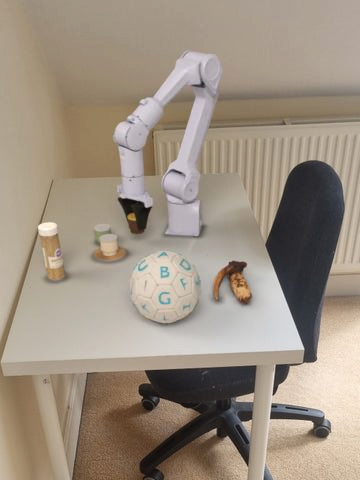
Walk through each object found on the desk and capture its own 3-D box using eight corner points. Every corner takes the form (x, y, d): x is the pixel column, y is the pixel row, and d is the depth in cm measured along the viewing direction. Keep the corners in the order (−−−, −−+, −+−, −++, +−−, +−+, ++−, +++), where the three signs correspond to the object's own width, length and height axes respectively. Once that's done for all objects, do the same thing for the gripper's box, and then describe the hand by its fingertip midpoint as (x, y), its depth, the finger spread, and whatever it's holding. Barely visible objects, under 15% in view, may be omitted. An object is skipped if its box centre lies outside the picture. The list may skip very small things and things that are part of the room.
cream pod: (120, 249, 156) (119, 234, 154) (116, 257, 153) (114, 241, 150) (103, 248, 157) (102, 233, 154) (99, 256, 153) (97, 240, 151)
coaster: (129, 249, 158) (129, 247, 157) (121, 262, 151) (121, 260, 151) (99, 247, 159) (99, 245, 159) (90, 261, 153) (90, 259, 152)
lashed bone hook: (207, 276, 145) (218, 311, 130) (206, 258, 142) (217, 292, 128) (244, 272, 145) (259, 307, 131) (244, 254, 142) (259, 288, 128)
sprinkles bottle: (60, 282, 144) (51, 229, 135) (44, 280, 145) (33, 228, 136) (68, 274, 147) (60, 222, 139) (52, 272, 148) (43, 220, 140)
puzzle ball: (199, 300, 135) (198, 237, 125) (202, 335, 123) (202, 269, 114) (133, 302, 135) (127, 240, 125) (130, 338, 123) (124, 272, 114)
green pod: (114, 238, 163) (112, 223, 161) (109, 245, 160) (108, 230, 157) (98, 238, 164) (96, 223, 161) (93, 245, 160) (91, 230, 158)
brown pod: (147, 228, 159) (146, 212, 156) (144, 235, 155) (142, 219, 152) (131, 227, 159) (129, 212, 157) (126, 234, 156) (125, 218, 153)
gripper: (104, 170, 151) (110, 221, 159) (134, 185, 141) (138, 238, 150) (128, 164, 154) (132, 215, 162) (158, 178, 144) (161, 231, 153)
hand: (137, 226), depth 156 cm, fingers closed on brown pod, 4 cm apart
